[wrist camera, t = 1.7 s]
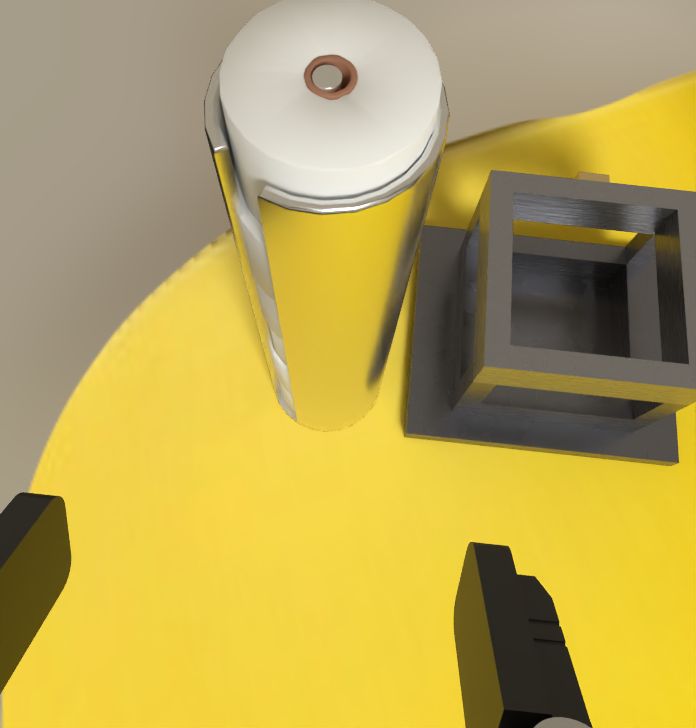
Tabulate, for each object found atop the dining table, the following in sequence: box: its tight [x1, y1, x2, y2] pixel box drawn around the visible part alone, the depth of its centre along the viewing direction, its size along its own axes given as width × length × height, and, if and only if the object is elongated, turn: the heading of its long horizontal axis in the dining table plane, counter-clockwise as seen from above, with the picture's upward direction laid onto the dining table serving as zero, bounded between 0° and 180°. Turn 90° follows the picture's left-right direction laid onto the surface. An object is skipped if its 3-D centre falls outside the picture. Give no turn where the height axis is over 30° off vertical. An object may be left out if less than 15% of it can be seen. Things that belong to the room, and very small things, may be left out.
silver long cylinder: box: [204, 0, 450, 432], centre depth 28 cm, size 6×6×25 cm
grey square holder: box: [404, 170, 696, 466], centre depth 36 cm, size 16×14×10 cm
